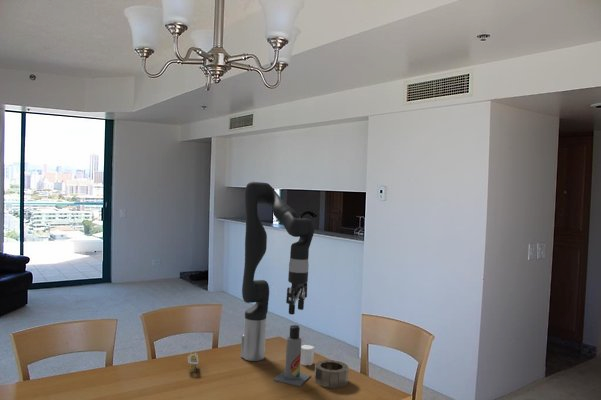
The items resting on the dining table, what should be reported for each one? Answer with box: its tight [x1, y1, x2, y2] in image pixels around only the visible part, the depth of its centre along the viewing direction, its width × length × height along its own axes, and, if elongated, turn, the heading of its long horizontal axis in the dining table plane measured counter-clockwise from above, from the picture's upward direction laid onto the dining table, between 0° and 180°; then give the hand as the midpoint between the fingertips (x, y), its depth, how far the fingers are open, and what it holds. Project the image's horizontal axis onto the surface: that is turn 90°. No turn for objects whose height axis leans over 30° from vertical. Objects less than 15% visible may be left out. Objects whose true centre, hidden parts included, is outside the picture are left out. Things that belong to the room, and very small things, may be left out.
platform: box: [187, 352, 199, 373], centre depth 193 cm, size 12×18×7 cm, turn 14°
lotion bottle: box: [284, 324, 303, 380], centre depth 189 cm, size 6×6×20 cm
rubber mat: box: [273, 370, 312, 387], centre depth 189 cm, size 11×11×1 cm
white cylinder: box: [300, 344, 316, 367], centre depth 206 cm, size 7×7×7 cm
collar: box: [313, 359, 349, 389], centre depth 188 cm, size 12×12×6 cm
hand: (296, 311), depth 188 cm, fingers open, 8 cm apart
